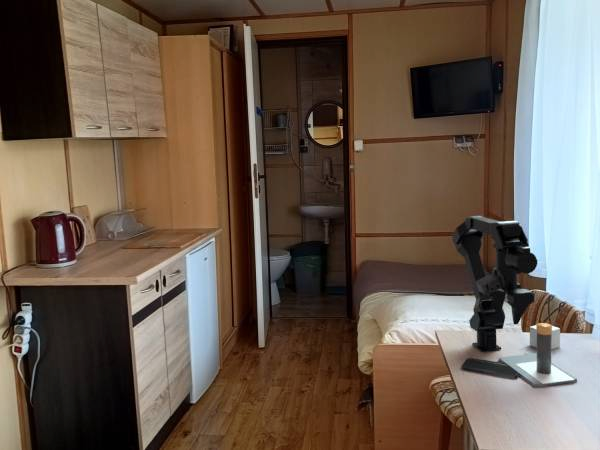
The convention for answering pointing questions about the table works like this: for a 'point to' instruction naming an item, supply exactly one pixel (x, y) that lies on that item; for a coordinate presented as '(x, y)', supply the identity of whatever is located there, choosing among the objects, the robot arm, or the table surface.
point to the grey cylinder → (544, 347)
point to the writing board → (528, 370)
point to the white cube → (554, 342)
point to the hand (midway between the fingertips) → (506, 319)
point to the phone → (489, 368)
